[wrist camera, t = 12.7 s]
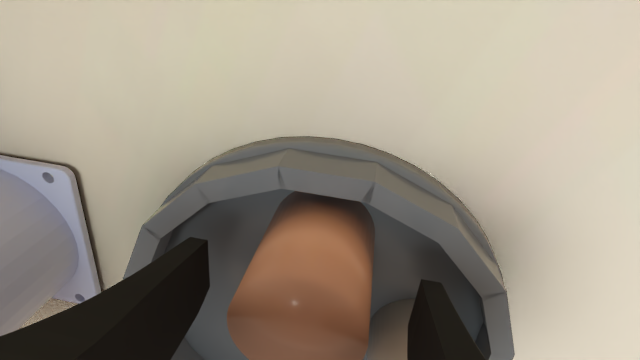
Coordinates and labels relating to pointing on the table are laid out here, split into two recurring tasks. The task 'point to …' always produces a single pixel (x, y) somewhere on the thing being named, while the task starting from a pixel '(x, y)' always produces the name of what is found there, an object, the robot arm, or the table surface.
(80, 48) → the table surface
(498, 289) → the groove tray
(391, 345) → the cream bead
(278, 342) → the terracotta bead
